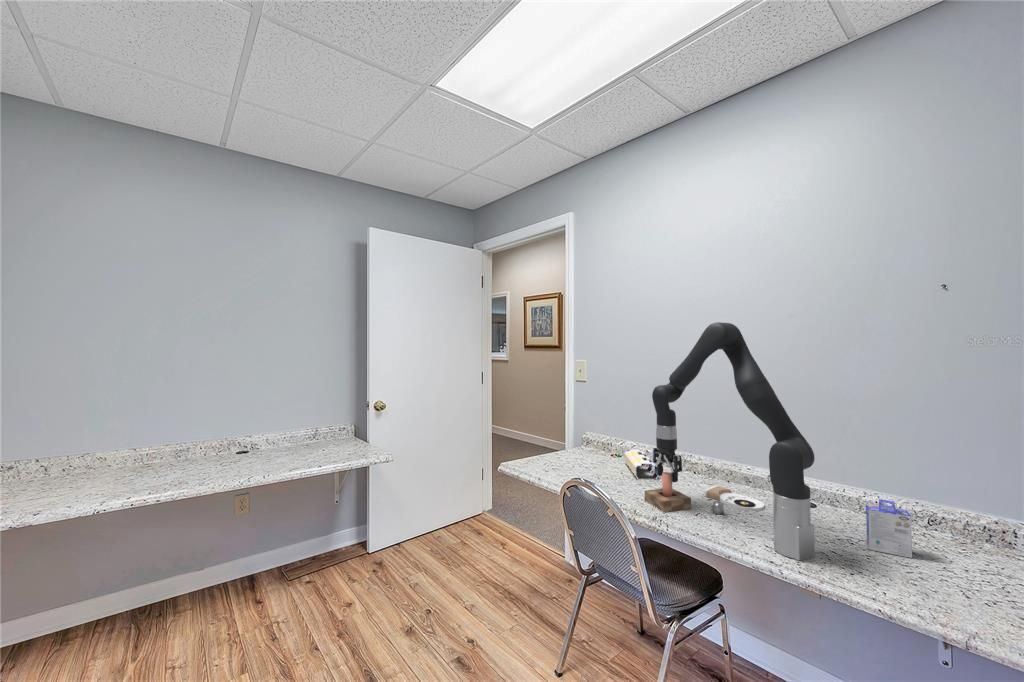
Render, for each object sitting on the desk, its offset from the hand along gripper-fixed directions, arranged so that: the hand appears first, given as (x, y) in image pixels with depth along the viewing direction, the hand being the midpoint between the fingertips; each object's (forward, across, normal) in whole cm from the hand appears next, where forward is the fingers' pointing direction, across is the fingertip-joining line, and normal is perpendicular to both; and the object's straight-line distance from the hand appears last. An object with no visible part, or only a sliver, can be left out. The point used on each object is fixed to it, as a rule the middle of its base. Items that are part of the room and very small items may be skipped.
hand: (667, 478), depth 161 cm
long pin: (+10, 0, 0) cm, 10 cm away
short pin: (+10, -13, -12) cm, 20 cm away
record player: (+11, -5, -27) cm, 30 cm away
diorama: (+10, +39, -14) cm, 43 cm away
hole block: (+10, 0, 0) cm, 10 cm away
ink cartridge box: (+11, -50, -40) cm, 65 cm away
